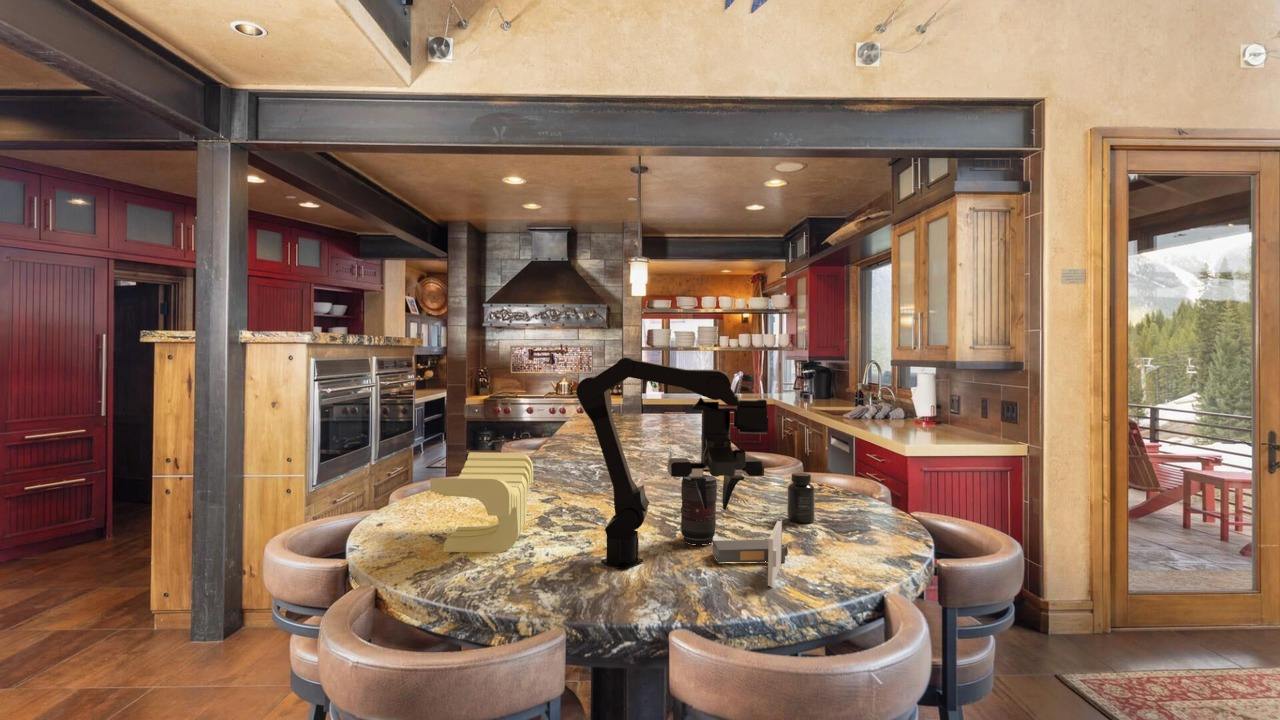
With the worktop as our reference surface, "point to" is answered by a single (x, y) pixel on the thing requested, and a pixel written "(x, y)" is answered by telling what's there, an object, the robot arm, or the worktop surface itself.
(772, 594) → the worktop surface
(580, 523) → the worktop surface
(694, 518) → the camera lens
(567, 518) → the worktop surface
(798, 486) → the supplement bottle
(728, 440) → the robot arm
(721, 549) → the grey rectangular box
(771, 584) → the side door
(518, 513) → the slatted curved stool
